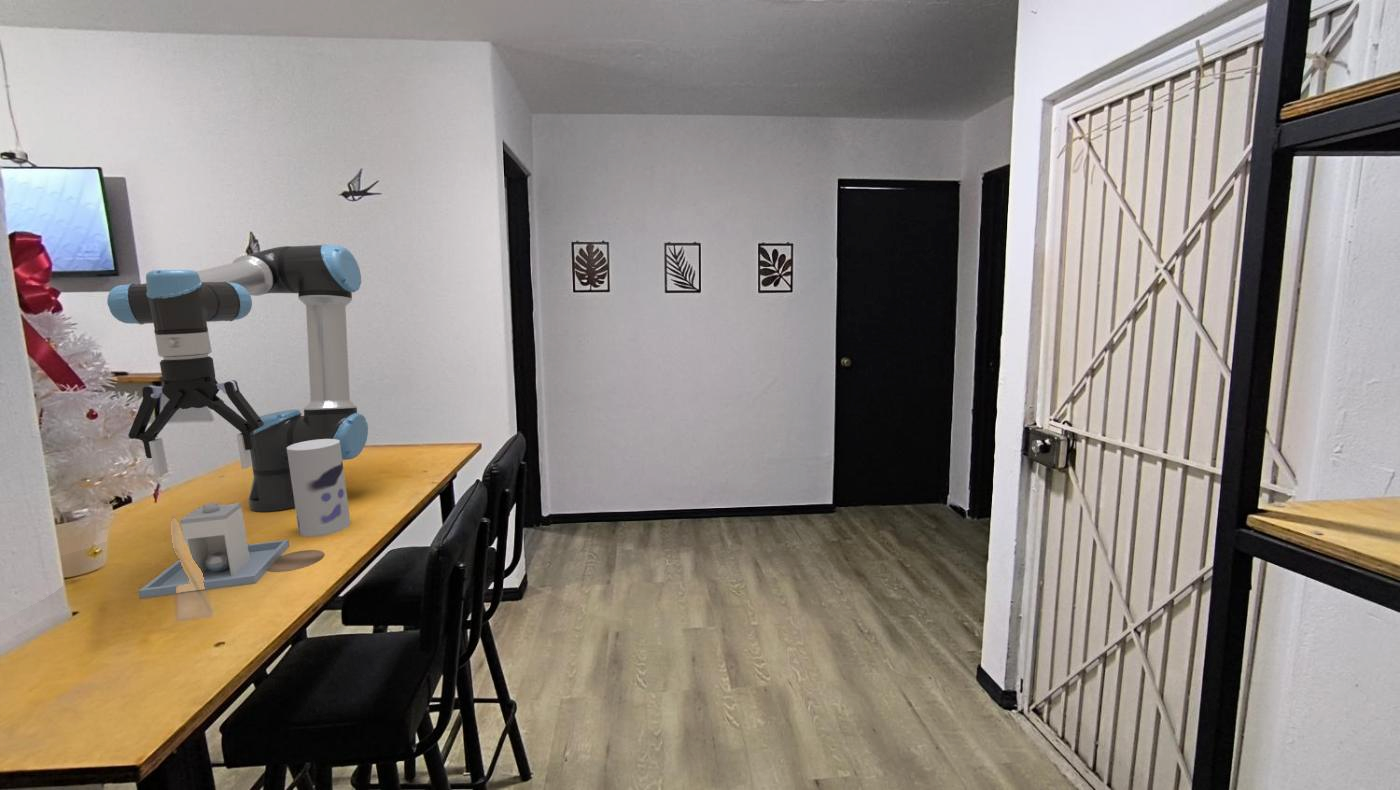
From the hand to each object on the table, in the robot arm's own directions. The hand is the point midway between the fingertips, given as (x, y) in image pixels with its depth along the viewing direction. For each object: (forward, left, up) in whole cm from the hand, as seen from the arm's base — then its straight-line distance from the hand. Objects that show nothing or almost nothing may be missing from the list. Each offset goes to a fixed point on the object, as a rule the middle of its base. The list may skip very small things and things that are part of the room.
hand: (205, 470), depth 117 cm
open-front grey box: (0, 0, -20) cm, 20 cm away
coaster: (0, +12, -20) cm, 24 cm away
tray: (0, 0, -20) cm, 20 cm away
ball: (0, 0, -20) cm, 20 cm away
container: (-18, +13, -20) cm, 30 cm away
